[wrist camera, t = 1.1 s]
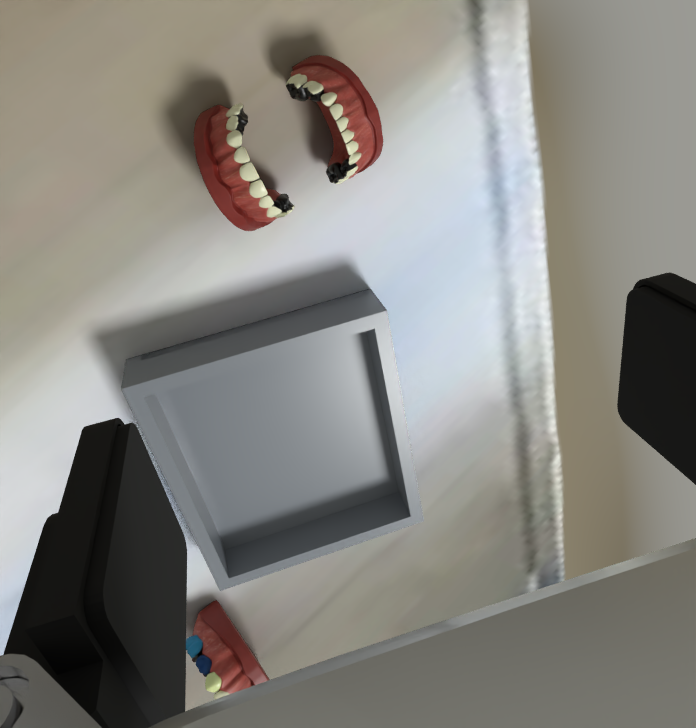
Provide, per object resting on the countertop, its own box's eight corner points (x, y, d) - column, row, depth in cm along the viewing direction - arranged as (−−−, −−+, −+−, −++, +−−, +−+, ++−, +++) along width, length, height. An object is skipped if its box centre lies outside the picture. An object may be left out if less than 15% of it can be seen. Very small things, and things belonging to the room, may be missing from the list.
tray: (126, 359, 30) (121, 389, 28) (370, 288, 32) (387, 310, 29) (217, 554, 39) (220, 591, 36) (408, 490, 40) (424, 520, 38)
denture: (407, 172, 25) (245, 258, 25) (380, 158, 29) (239, 232, 29) (355, 38, 22) (174, 135, 23) (333, 41, 26) (177, 124, 26)
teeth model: (65, 750, 35) (252, 670, 36) (77, 654, 40) (241, 586, 41) (130, 800, 40) (294, 728, 41) (133, 708, 45) (279, 646, 46)
